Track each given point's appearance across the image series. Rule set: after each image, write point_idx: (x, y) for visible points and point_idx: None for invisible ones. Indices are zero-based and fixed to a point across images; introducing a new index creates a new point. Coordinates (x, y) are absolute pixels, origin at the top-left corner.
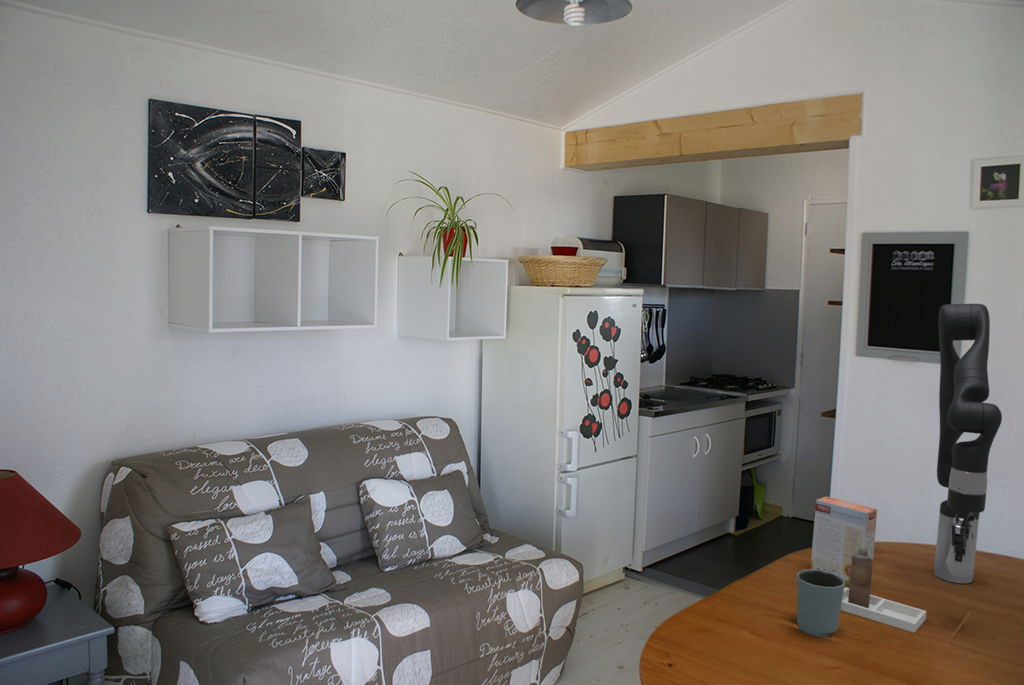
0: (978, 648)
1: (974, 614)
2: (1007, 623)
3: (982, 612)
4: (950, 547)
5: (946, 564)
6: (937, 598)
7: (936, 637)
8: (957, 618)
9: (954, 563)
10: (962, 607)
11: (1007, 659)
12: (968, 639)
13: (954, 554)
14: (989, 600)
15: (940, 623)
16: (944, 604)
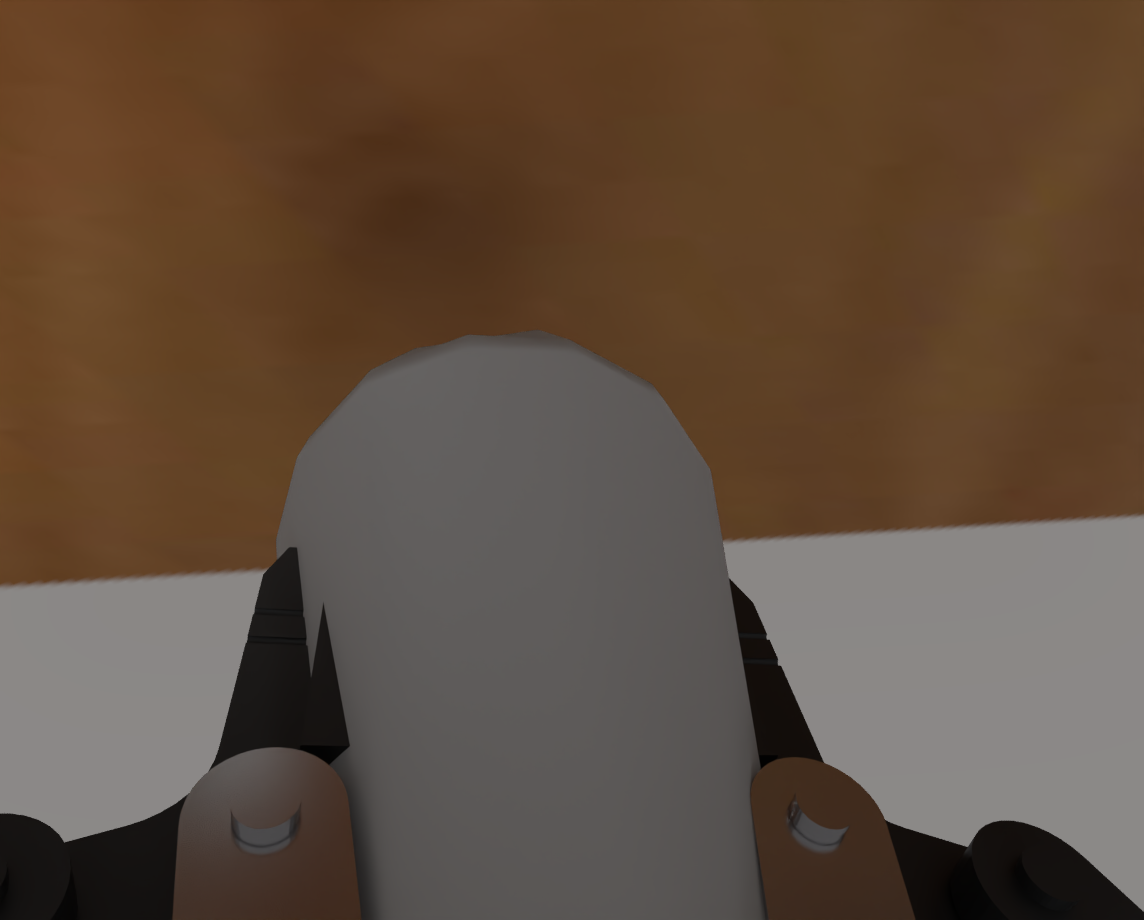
0: (101, 394)
1: (772, 329)
2: (718, 506)
3: (841, 371)
4: (489, 587)
5: (460, 338)
6: (1004, 41)
7: (25, 93)
8: (614, 226)
9: (297, 513)
10: (877, 244)
11: (77, 546)
12: (220, 325)
13: (309, 613)
14: (1093, 394)
15: (402, 105)
16: (882, 109)
